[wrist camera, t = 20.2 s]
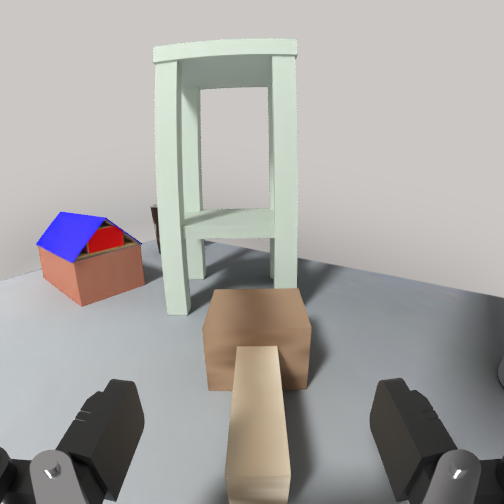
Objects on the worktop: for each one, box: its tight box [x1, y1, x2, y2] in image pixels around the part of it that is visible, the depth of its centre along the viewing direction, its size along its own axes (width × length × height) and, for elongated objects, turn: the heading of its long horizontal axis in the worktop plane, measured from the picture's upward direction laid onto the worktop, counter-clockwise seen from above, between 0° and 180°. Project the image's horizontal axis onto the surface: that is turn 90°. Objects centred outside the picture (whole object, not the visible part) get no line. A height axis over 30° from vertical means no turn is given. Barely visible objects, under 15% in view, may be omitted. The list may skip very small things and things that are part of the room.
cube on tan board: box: [202, 288, 312, 504], centre depth 22 cm, size 8×20×6 cm, turn 179°
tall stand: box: [153, 38, 298, 316], centre depth 42 cm, size 16×16×32 cm
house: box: [37, 212, 145, 306], centre depth 49 cm, size 12×20×12 cm, turn 53°
